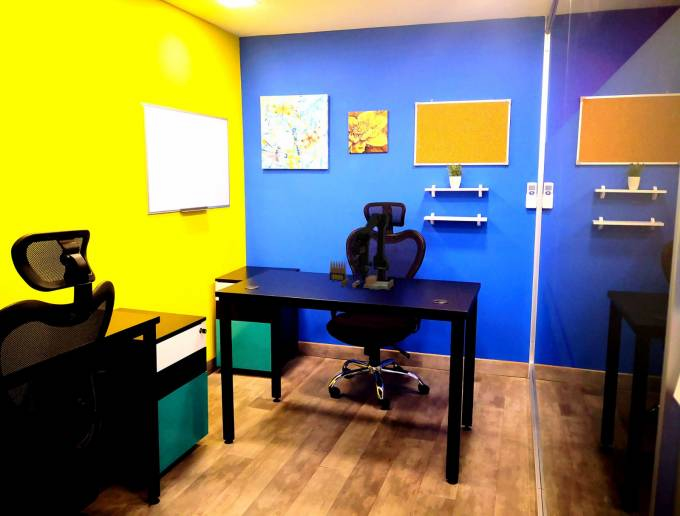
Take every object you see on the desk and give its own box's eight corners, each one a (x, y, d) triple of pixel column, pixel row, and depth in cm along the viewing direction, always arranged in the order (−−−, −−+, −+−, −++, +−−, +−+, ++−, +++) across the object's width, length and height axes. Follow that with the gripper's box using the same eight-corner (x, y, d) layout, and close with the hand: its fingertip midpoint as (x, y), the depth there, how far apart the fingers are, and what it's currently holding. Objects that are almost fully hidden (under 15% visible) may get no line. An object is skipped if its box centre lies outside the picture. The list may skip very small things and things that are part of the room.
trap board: (347, 283, 318) (347, 277, 318) (393, 285, 311) (393, 279, 311) (341, 287, 306) (341, 281, 305) (389, 289, 299) (389, 283, 298)
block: (369, 281, 313) (369, 275, 313) (376, 281, 312) (376, 275, 312) (365, 284, 303) (365, 278, 303) (372, 284, 302) (373, 278, 302)
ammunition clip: (346, 281, 323) (346, 261, 322) (345, 282, 322) (345, 262, 320) (330, 280, 328) (330, 260, 326) (329, 280, 326) (329, 260, 325)
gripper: (353, 251, 318) (353, 277, 320) (345, 255, 300) (345, 283, 302) (372, 251, 315) (372, 278, 317) (365, 256, 297) (365, 284, 299)
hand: (363, 281), depth 309 cm, fingers closed
